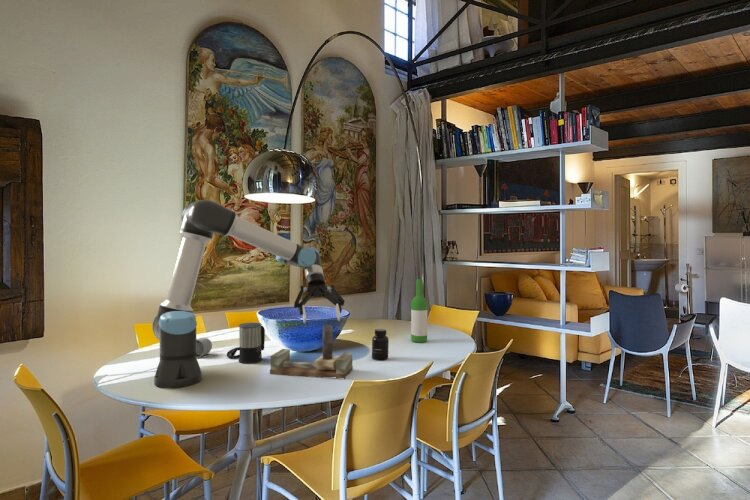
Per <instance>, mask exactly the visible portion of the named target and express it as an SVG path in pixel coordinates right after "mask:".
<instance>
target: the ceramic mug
mask: <svg viewBox="0 0 750 500" xmlns="http://www.w3.org/2000/svg"><path fill="white" fill-rule="evenodd" d="M212 348H213V343H212V341H211V340H210V339H209V338H207V337H200V338H196V357H197V359H199V358H202V357H203V356H206V355H208V354H209V353H210V352H211V350H212Z"/></svg>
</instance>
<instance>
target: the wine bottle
mask: <svg viewBox="0 0 750 500" xmlns="http://www.w3.org/2000/svg"><path fill="white" fill-rule="evenodd" d="M415 282H416V283H415V285H416V290H415V291H416V292H415V293H416V294H415V296H414V297H413V298H412V300H411V305H410V306H411V307H410V308H411V309H410V311H411V313H410V317H411V318H410V339H411V342H413V343H415V344H416V343H418V344H419V343H420V344H421V343H426V342H427V341H428V301H427V299H426V298H425V296H424V294H423V286H424V285H423V279H421V278H418V279H416V280H415Z"/></svg>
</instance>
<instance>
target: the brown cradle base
mask: <svg viewBox="0 0 750 500" xmlns="http://www.w3.org/2000/svg"><path fill="white" fill-rule="evenodd" d="M339 356H340V357H339V358H338V359H337V360H336V370H323V369H316V367H314V362H304V361H303V362H301V361H291V349H289V348H288V349H287V348H282V349H280V350H278V351H277V352H275V353H273V354H271V355H270V369H269V374H270V375H279V374H281V376H294V375H298V376H297V377H308V376H319V377H318V378H323V377H336V378H335V379H338V378H344V379H346V377H347V376H348V375H349V374H350V373H351V372H352V371H353V370H354V367H353V352H343V353H342V354H341V355H339ZM282 374H283V375H282Z"/></svg>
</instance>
